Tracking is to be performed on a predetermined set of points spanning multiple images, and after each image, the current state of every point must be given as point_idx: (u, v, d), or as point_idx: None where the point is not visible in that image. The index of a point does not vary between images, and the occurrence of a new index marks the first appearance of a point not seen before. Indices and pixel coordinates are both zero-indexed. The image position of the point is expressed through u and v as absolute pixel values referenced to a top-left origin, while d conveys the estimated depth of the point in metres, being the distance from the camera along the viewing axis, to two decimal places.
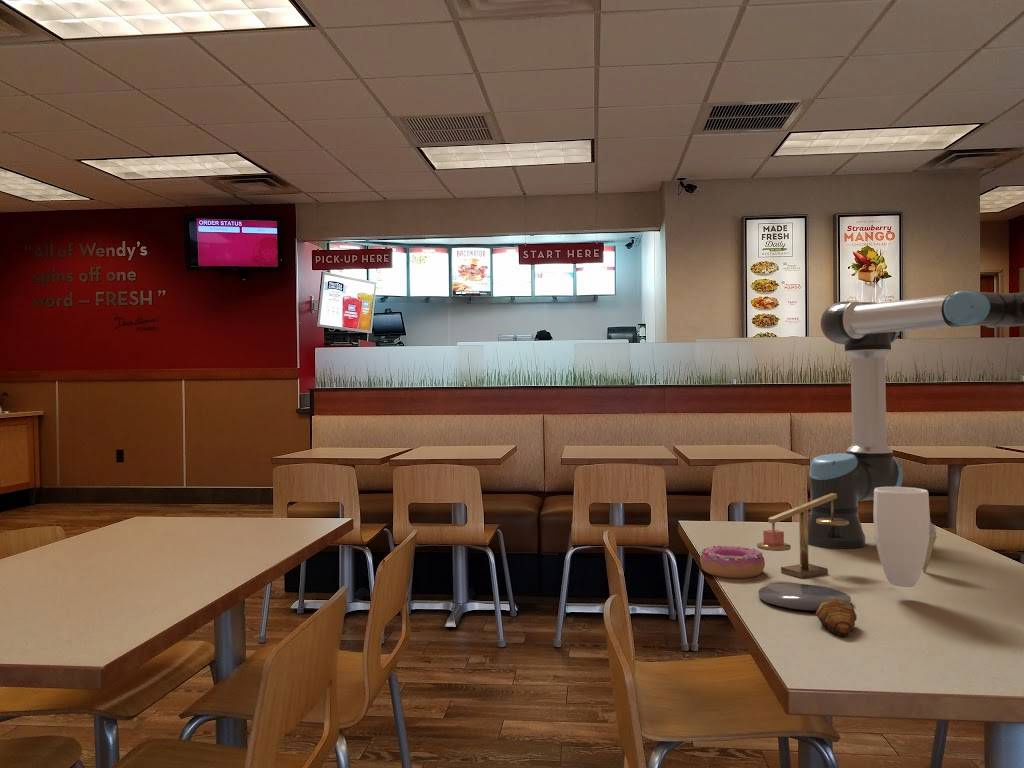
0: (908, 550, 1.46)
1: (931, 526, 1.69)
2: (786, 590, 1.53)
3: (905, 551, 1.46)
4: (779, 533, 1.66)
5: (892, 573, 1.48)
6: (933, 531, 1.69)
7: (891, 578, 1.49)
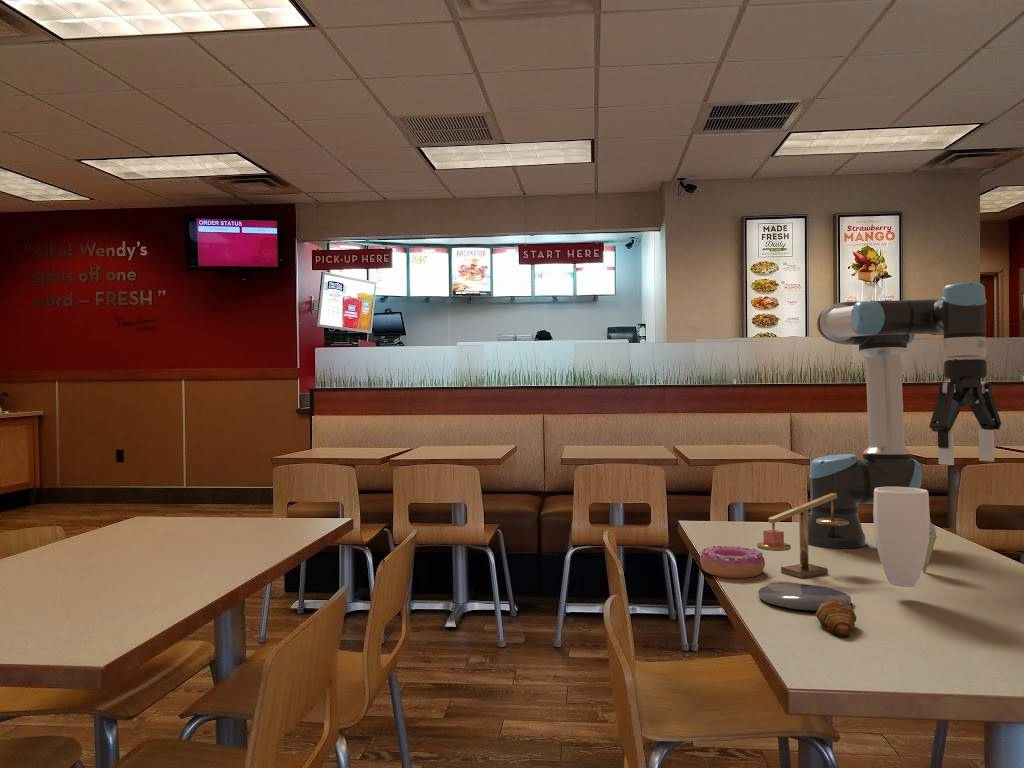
0: (908, 550, 1.46)
1: (931, 526, 1.69)
2: (786, 590, 1.53)
3: (905, 551, 1.46)
4: (779, 533, 1.66)
5: (892, 573, 1.48)
6: (933, 531, 1.69)
7: (891, 578, 1.49)
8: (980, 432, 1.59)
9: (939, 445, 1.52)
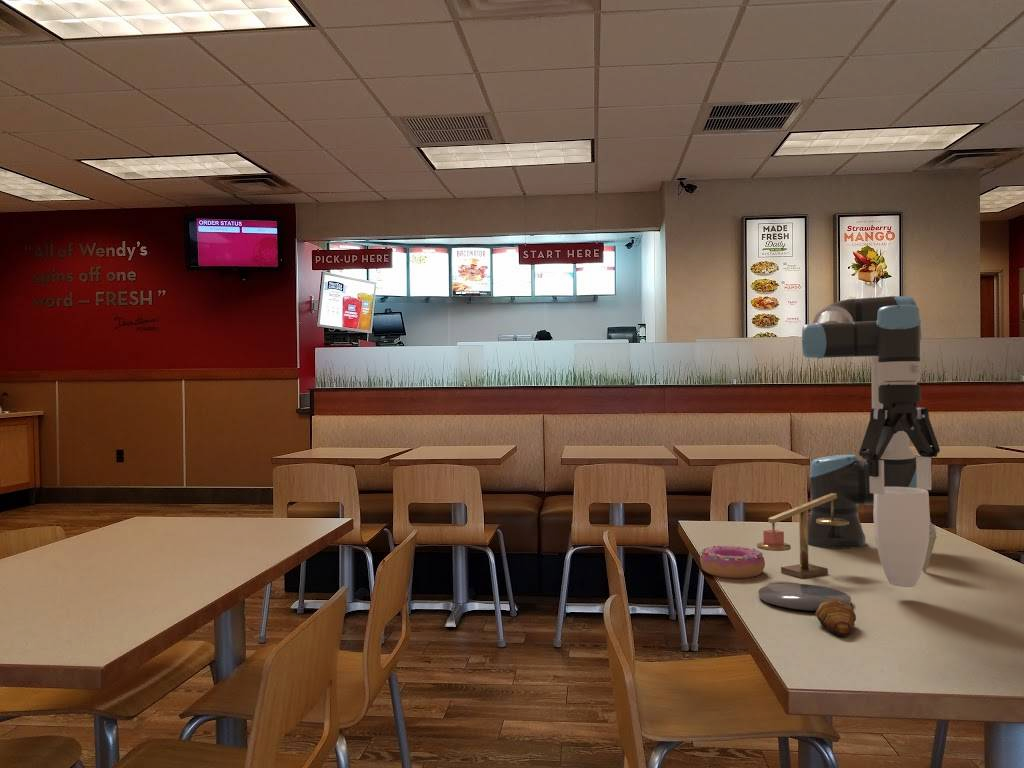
0: (908, 550, 1.46)
1: (931, 526, 1.69)
2: (786, 590, 1.53)
3: (905, 551, 1.46)
4: (779, 533, 1.66)
5: (892, 573, 1.48)
6: (933, 531, 1.69)
7: (891, 578, 1.49)
8: (918, 459, 1.54)
9: (869, 473, 1.47)
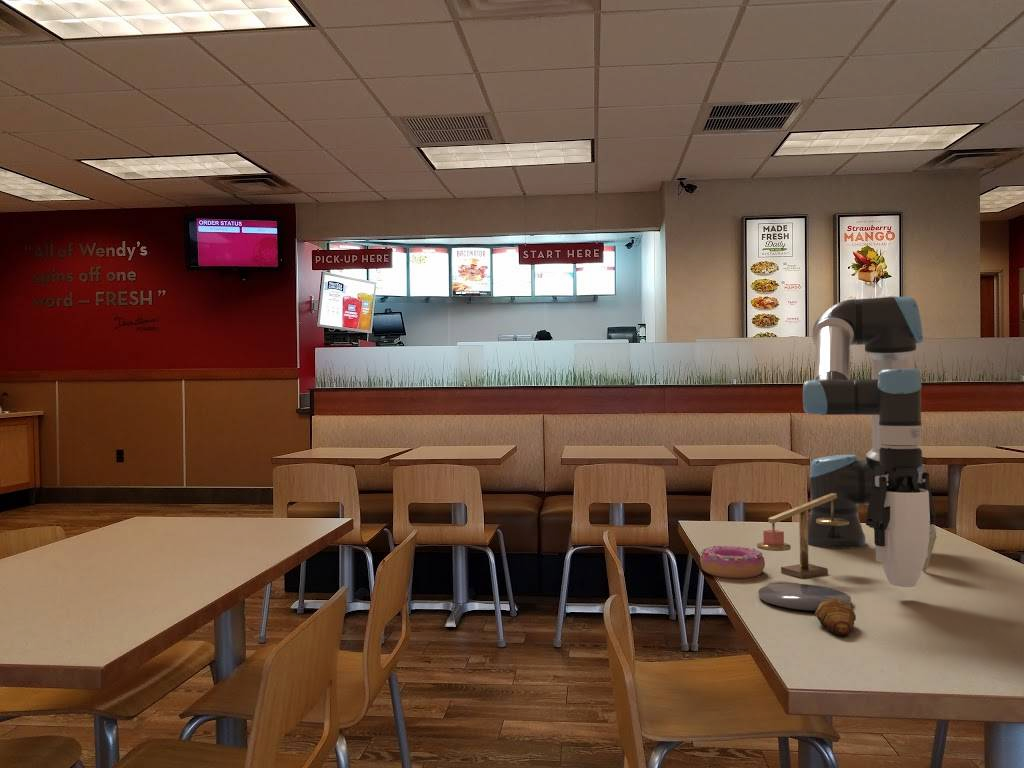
0: (909, 550, 1.46)
1: (931, 526, 1.69)
2: (786, 590, 1.53)
3: (905, 551, 1.46)
4: (779, 533, 1.66)
5: (892, 573, 1.48)
6: (933, 531, 1.69)
7: (891, 578, 1.49)
8: None
9: (875, 542, 1.48)
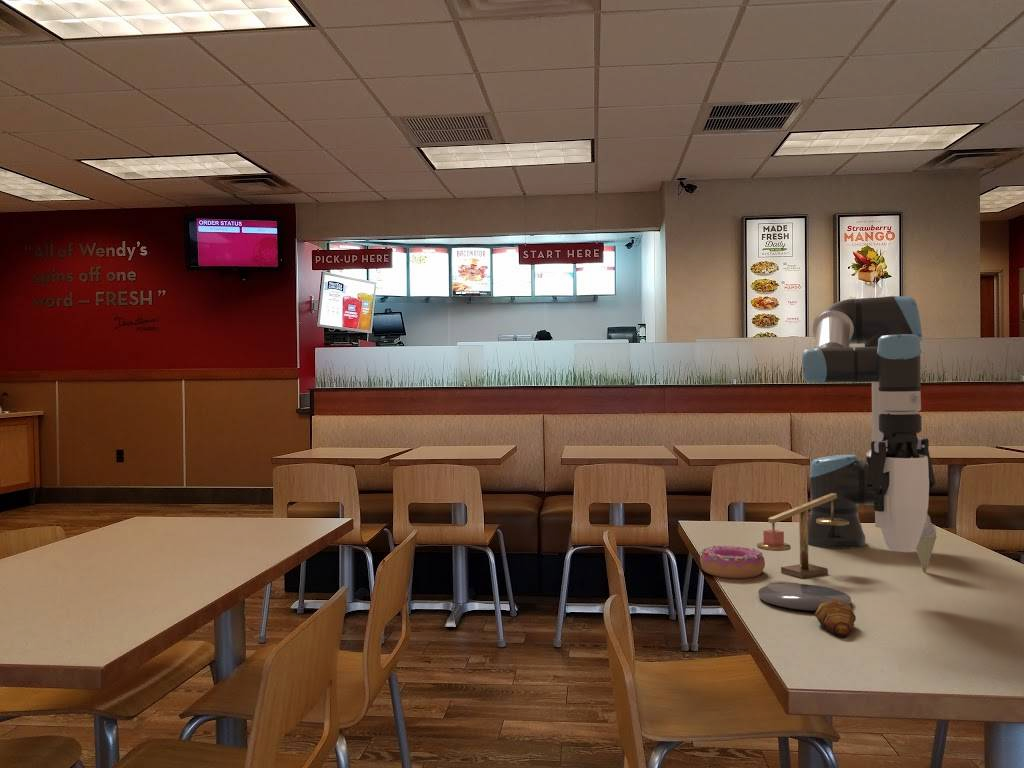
0: (908, 515, 1.46)
1: (931, 526, 1.69)
2: (786, 590, 1.53)
3: (904, 516, 1.46)
4: (779, 533, 1.66)
5: (892, 539, 1.49)
6: (933, 531, 1.69)
7: (891, 543, 1.50)
8: None
9: (875, 508, 1.48)
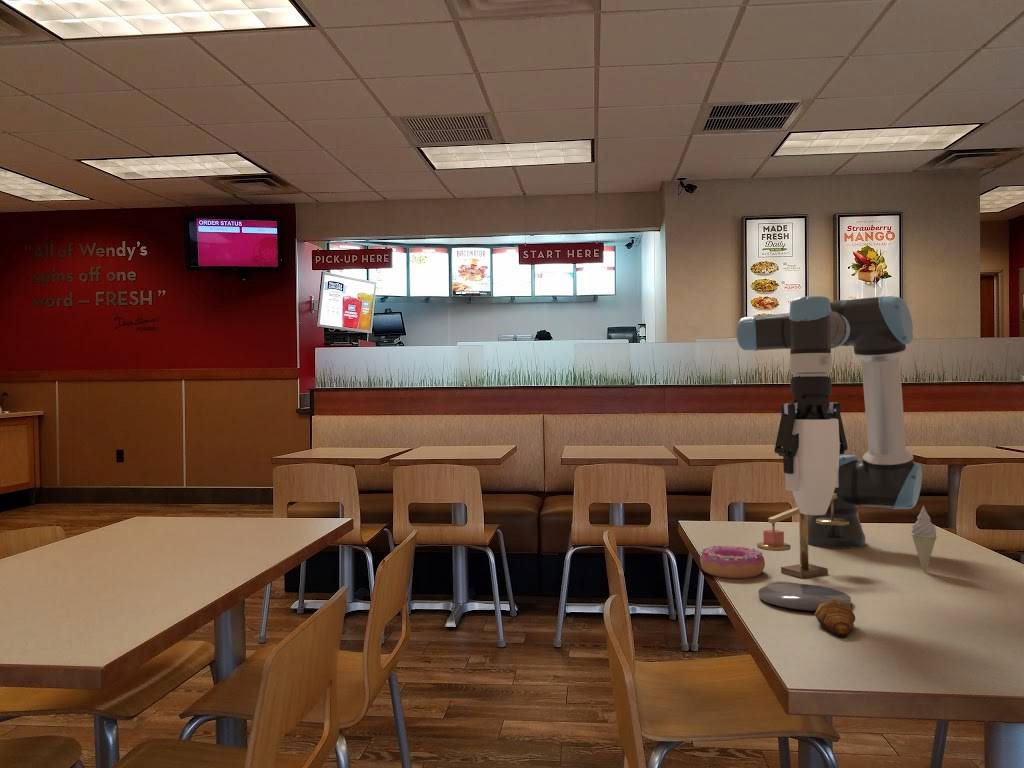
0: (817, 477, 1.45)
1: (931, 526, 1.69)
2: (786, 590, 1.53)
3: (814, 478, 1.45)
4: (779, 533, 1.66)
5: (802, 502, 1.48)
6: (933, 531, 1.69)
7: (801, 507, 1.48)
8: None
9: (784, 470, 1.47)
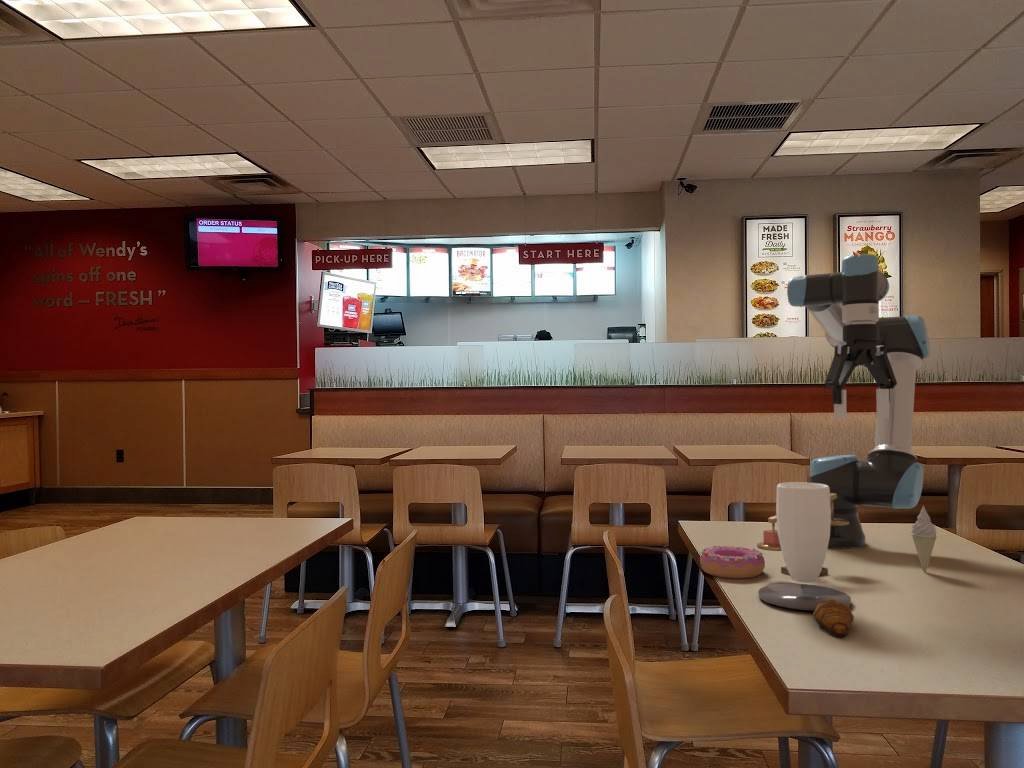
0: (807, 545, 1.45)
1: (931, 526, 1.69)
2: (786, 590, 1.53)
3: (804, 546, 1.46)
4: None
5: (793, 569, 1.48)
6: (933, 531, 1.69)
7: (792, 574, 1.49)
8: (877, 391, 1.75)
9: (833, 401, 1.68)
